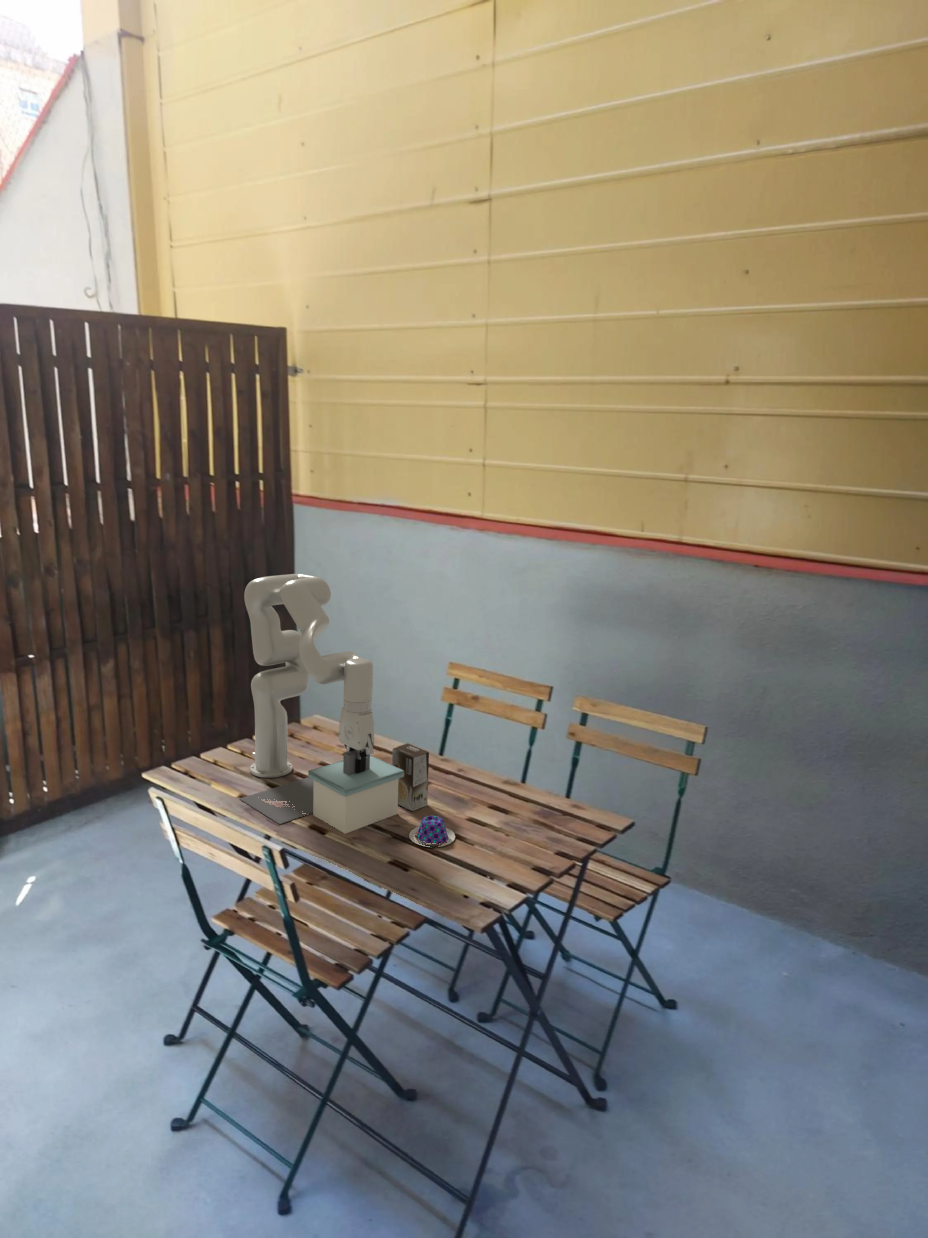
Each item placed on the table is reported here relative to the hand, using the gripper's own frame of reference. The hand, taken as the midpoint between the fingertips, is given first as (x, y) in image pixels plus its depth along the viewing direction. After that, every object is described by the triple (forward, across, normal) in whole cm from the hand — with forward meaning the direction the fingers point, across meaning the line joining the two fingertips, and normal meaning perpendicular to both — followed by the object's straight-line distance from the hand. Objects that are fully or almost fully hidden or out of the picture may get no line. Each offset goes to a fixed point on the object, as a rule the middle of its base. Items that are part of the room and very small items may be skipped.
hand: (356, 769), depth 224 cm
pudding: (+14, +23, +7) cm, 28 cm away
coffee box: (+13, +4, +16) cm, 21 cm away
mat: (+13, -18, -7) cm, 23 cm away
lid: (+2, 0, 0) cm, 2 cm away
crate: (+13, 0, 0) cm, 13 cm away
